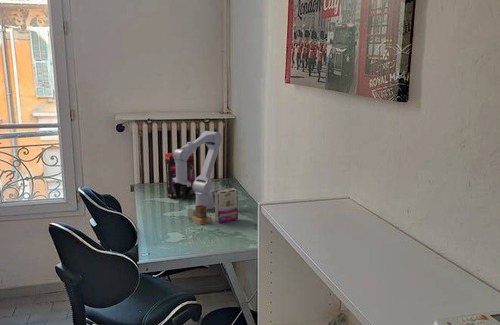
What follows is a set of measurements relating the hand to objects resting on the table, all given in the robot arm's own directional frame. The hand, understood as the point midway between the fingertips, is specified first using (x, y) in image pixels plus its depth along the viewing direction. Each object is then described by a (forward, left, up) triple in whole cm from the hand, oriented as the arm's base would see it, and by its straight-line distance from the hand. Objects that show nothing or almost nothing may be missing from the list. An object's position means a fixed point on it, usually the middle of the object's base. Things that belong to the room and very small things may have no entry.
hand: (182, 197), depth 229 cm
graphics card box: (-20, -32, -11) cm, 39 cm away
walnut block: (-2, +14, -8) cm, 16 cm away
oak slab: (-2, +14, -11) cm, 18 cm away
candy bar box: (-13, +21, -11) cm, 27 cm away
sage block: (-3, +5, -11) cm, 12 cm away
